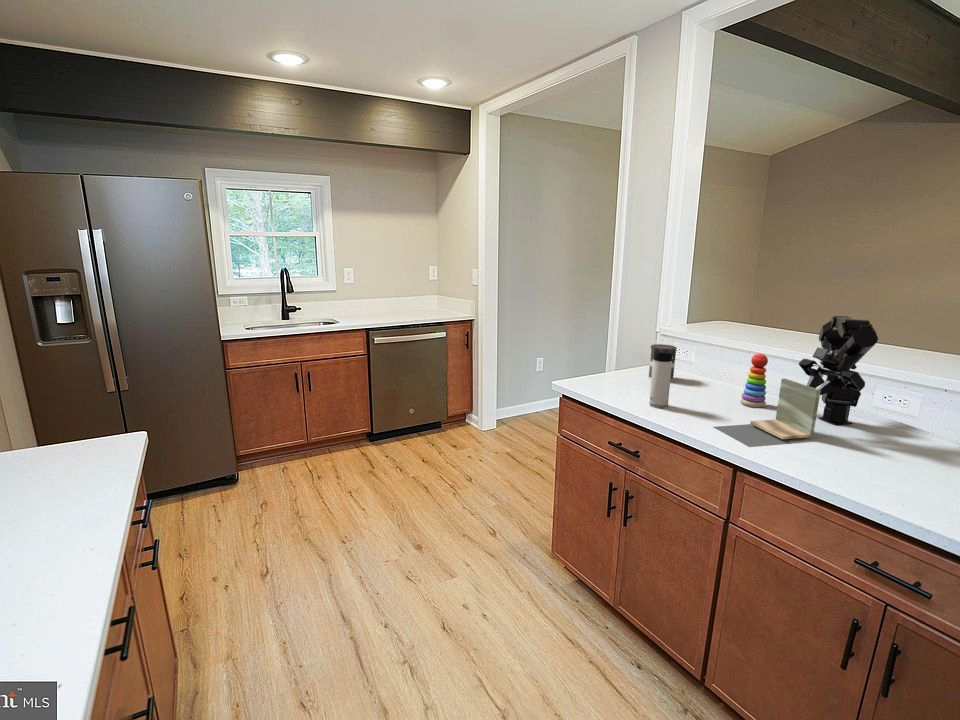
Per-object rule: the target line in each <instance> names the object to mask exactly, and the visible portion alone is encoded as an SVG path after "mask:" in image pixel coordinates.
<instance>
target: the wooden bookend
mask: <svg viewBox="0 0 960 720" xmlns="http://www.w3.org/2000/svg"><path fill="white" fill-rule="evenodd" d="M820 392H821V390H818V388H812V387H809V386H807V384H806V385H805V384H803V383H799V382H797V381H793V380H790V379H789V378H781V380H780V387H779V395H778V402H777V408H776V414H775V419H766V420H765V419H764V420H751V421H750V422H749V424H752V425H753V426H754V427H758V428H760V429H762V430H764V431H766V432H769V433H771V434H773V435H775V436H777V437H779V438H780V439H781V440H783V441H784V440H790V439H791V440H792V439H803V440H806V439H807V438H810V437H813V436H814V435H815V434H814V433H815V427H816V426H815V425H816V421H817V415H818V409H819V403H820V399H821V398H820V397H821V395H820Z"/></svg>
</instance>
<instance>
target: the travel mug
mask: <svg viewBox="0 0 960 720" xmlns="http://www.w3.org/2000/svg"><path fill="white" fill-rule="evenodd" d="M672 355H673V353H670V352H658V351H655V352H654V357H653V366H652V378H651V379H650V380H651V381H650V390H649V391H650V392H649V401H648V402H649V404H650V405H651V406H650V405H649V406H650V407H652V406H654V407H653V408H655V407H658V408H657V409H666V408H668V407H669V398H670V385H671V381H670V378H671V368H672ZM665 407H666V408H665Z"/></svg>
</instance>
